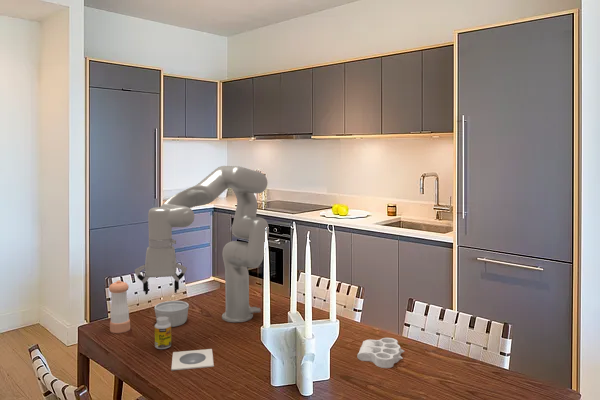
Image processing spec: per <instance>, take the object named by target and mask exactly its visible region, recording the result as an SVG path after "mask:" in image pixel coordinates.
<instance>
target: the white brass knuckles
mask: <svg viewBox="0 0 600 400" xmlns="http://www.w3.org/2000/svg"><path fill="white" fill-rule="evenodd" d="M404 352H405V350H404V349H402V348H401V346H400V344H399V341H398V340H397V339H396V338H393V337H383V338H380V339H366V340H363V341H362V344H361V346H360V347H359V352H358V353H357V355H356V356H357V359H358V360H359V361H361V362H371V363H373V364H374V365H375V366H377V367H379V368H381V369H390V368H393V367H394V364H397V363H398V362H400V360H403V359H404V358H403V357H402V355H401V354H403V353H404Z"/></svg>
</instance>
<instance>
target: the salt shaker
mask: <svg viewBox="0 0 600 400" xmlns="http://www.w3.org/2000/svg"><path fill="white" fill-rule="evenodd" d="M129 287H130V286H129V284H128V283H127V282H125V281H121V280H116V281H115V282H113V283H111V284H110V285H109V287H108V291H109V293H111V294H110V295H111V296H110V297H111V298H110V299H111V303H110V312H109V314H110V321H109V331H110V332H111V333H112V334H121V333H122V334H123V333H126V332H128V331H130V330H131V319H130V309H129V305H128V297H127V296H128V295H127V293H128V292H127V291H128V290H129V289H130V288H129Z"/></svg>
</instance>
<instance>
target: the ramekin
mask: <svg viewBox="0 0 600 400" xmlns="http://www.w3.org/2000/svg"><path fill="white" fill-rule="evenodd" d="M189 307H190V305H189V303H188V302H186V301H184V300H183V301H182V300H166V301H162V302H159V303H157V304H155V306H154V314H155V320H156V321H157V318H159V317H168V318H169V322H170V323H171V328H174V327H175V328H176V327H178V326H179V327H180V326H182V325H184V324H185V323H186V322H187V320H188V313H189V312H188V311H189Z"/></svg>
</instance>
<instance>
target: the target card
mask: <svg viewBox="0 0 600 400" xmlns="http://www.w3.org/2000/svg"><path fill="white" fill-rule="evenodd" d="M212 367H215V365H214V355H213V349H212V348H206V349H196V350H195V349H194V350H183V351H173V352H172V359H171V369H170V370H171V371H181V370H191V369H201V368H203V369H204V368H212Z"/></svg>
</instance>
